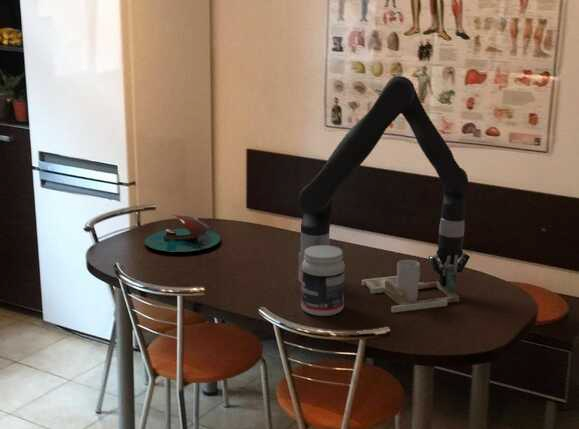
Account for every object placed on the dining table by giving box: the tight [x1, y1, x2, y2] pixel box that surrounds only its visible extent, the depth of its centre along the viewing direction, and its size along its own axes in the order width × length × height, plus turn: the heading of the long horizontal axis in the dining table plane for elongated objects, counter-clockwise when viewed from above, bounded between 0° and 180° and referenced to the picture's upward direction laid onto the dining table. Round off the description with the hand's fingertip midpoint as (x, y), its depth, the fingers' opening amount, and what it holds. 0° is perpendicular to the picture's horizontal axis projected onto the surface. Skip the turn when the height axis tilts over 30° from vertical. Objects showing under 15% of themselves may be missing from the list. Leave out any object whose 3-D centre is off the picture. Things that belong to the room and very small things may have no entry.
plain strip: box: [364, 278, 421, 291], centre depth 259 cm, size 17×5×5 cm, turn 107°
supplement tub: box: [300, 245, 346, 317], centre depth 238 cm, size 13×13×18 cm
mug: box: [396, 259, 421, 302], centre depth 247 cm, size 10×7×12 cm, turn 138°
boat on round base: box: [144, 214, 221, 253], centre depth 299 cm, size 28×28×11 cm
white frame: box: [382, 266, 460, 306], centre depth 249 cm, size 19×14×8 cm
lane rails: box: [361, 275, 448, 313], centre depth 252 cm, size 18×24×2 cm
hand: (446, 285), depth 252 cm, fingers closed on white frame, 2 cm apart
